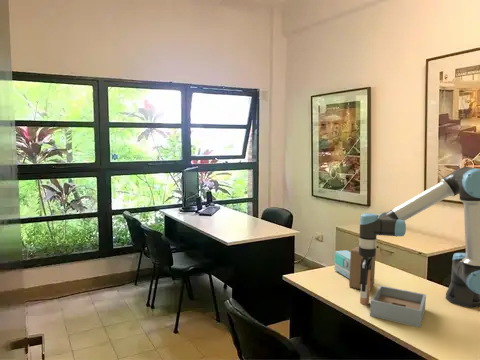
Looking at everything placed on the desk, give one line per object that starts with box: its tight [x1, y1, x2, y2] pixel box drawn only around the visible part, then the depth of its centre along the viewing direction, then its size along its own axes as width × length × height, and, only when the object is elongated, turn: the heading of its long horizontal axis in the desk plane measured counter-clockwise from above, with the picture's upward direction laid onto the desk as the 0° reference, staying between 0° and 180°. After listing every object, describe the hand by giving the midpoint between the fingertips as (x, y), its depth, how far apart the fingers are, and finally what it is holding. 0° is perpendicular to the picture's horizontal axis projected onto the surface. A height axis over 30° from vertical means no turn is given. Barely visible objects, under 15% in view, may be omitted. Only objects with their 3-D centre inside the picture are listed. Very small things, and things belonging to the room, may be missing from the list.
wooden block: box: [348, 245, 376, 290], centre depth 199 cm, size 10×10×20 cm
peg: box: [359, 270, 371, 306], centre depth 179 cm, size 4×4×16 cm
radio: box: [334, 249, 351, 280], centre depth 216 cm, size 16×9×20 cm, turn 17°
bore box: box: [369, 285, 427, 328], centre depth 171 cm, size 20×20×7 cm
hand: (364, 295), depth 180 cm, fingers open, 4 cm apart
